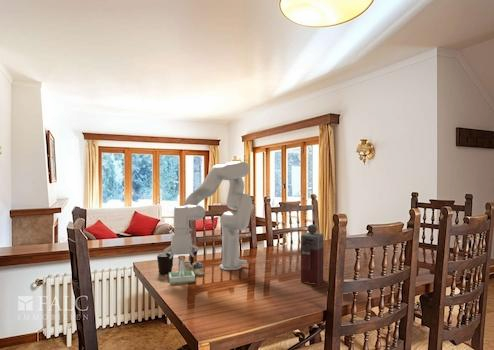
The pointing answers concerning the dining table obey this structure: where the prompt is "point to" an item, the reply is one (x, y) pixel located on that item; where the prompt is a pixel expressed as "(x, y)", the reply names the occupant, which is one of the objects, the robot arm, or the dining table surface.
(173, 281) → the tray
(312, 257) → the dark red bottle
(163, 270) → the coffee mug
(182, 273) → the pin
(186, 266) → the pulley block
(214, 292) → the dining table surface
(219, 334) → the dining table surface
